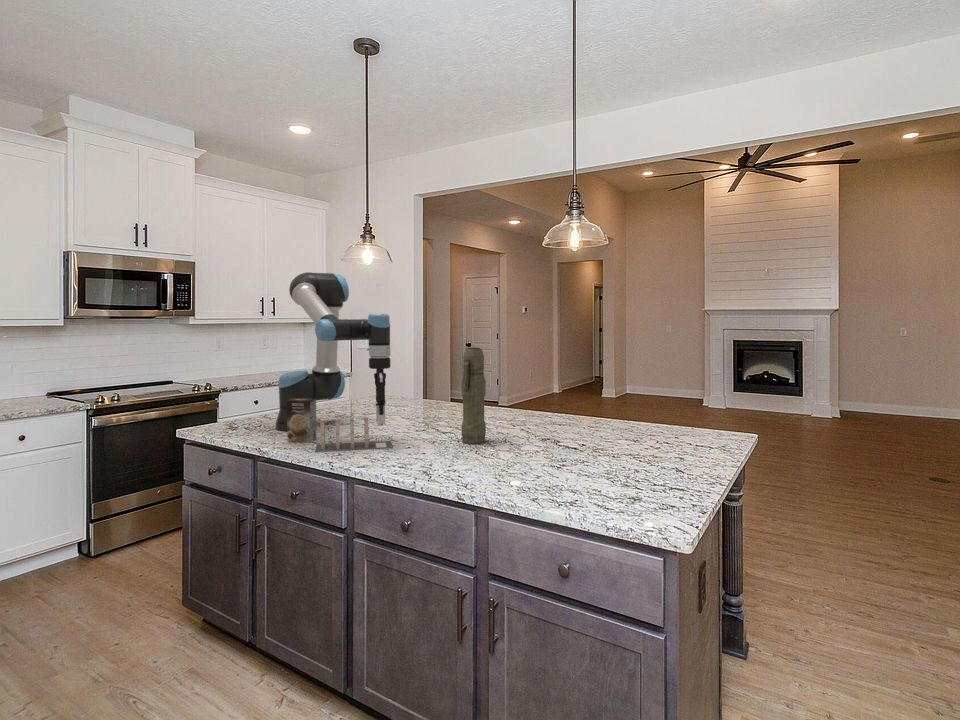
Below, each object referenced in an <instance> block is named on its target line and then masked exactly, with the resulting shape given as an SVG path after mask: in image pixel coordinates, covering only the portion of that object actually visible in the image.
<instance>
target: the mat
mask: <svg viewBox="0 0 960 720" xmlns="http://www.w3.org/2000/svg"><path fill="white" fill-rule="evenodd" d="M385 449H394V446H393V443H392V441H391V440H377V441H373V440H372V441H369V447H367V448H365V441H358V442H355V441H354V448H351V442H340V449H336V442H335V443H325V450H321V443H320V444H319V443H318V444H316V446H315V451H314V453H328V452H329V453H330V452H331V453H332V452H348V451H370V450H385Z"/></svg>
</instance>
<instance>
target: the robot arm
mask: <svg viewBox="0 0 960 720" xmlns="http://www.w3.org/2000/svg"><path fill="white" fill-rule="evenodd" d="M288 290H289V295H290V298H291V299H292V301H293V302H294V303H295V304H297V305H299V306H300V307H301V309H303V310H304V312H305V313H306V314H307V315H308V317H310V319H311V321H313V324H315V325H314V333H315V336H316V352H315V353H316V356H315V358H316V360H315V365H314V366H313V367H312V370H311V373H309V372H308V370H296V371H290V372H285V373H283V374H281V375H280V376H279V378H278V386H277V387H278V394H279V395H278V397H279V402H278V405H279V411H278V414H277V418H276V420H275V430H277V431H283V432H284V431H286V432H287V400H289V399H292V398H313V399H316V402H317V401H326V400H328V401H329V400H335V399H338V398H341V396H342V395H343V393H344V391H345V387H346V379H345V375H344V373H343V372H342V371H341V369H340V367H339V366H338V342H339V341H368V347H367V348H366V351H368V356H369V358H368V368H369V369H371V370H375V371H376V372H375V373H374V374H373V378H374V385H375V407H376V408H375V410H376V411H375V412H376V413H375V414H376V415H375V416H376V418H375V419H376V423H377V425H379V424H383V425H385V424H386V378H387V373H385V371H384V370H385V369H386V370H387V369H390V368H391V366H392V365H391V358H390V356H391V323H390V315H389V314H388V313H369V314H368V316H367V318H360V319H357V318H356V319H354V318H353V319H344V318H343V319H340V318H339V317H340V316H339V315H340V314H339V313H340V310H342V308H343V307H344V303H345V302H347V301H348V299H349V294H350V291H349V285H348V280H347V279H346V278H345V276H343V275H342V274H340V273H339V274H338V273H333V272H332V273H331V272H311V271H309V272H302V273H300V274H298V275H297V276H295V277H293V279H292V281H291V282H290V284H289V288H288Z"/></svg>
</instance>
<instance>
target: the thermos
mask: <svg viewBox="0 0 960 720" xmlns="http://www.w3.org/2000/svg"><path fill="white" fill-rule="evenodd" d="M462 359H463V360H462V367H463V368H462V369H463V373H462V374H463V376H462V379H461V396H462V422H461V436H462V439H461V442H462V443H463V444H465V445H482V444H485V443H486V436H487V435H486V428H487V427H486V426H487V425H486V421H485V396H486V393H487V391H486V390H487V389H486V387H487V386H486V385H487V383H486V378H485V372H484V371H485V355H484V351H483V349H482V348H480V347H475V346H474V347H467V348H465V349H464V353H463V356H462Z"/></svg>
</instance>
